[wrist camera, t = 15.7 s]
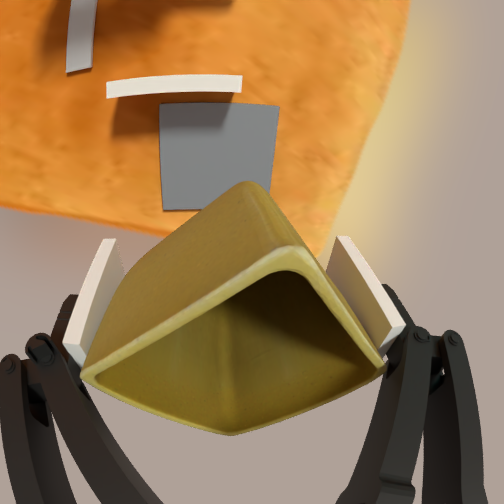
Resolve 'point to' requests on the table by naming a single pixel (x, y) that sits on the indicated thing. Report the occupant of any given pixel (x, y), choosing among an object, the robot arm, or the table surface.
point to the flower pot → (230, 324)
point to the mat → (214, 150)
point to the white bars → (83, 56)
